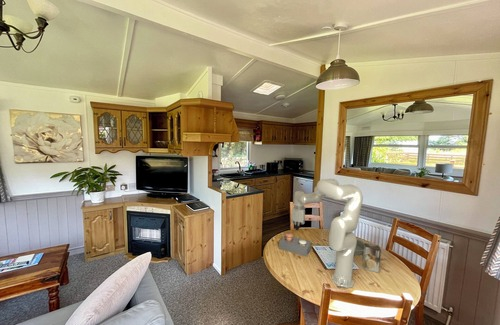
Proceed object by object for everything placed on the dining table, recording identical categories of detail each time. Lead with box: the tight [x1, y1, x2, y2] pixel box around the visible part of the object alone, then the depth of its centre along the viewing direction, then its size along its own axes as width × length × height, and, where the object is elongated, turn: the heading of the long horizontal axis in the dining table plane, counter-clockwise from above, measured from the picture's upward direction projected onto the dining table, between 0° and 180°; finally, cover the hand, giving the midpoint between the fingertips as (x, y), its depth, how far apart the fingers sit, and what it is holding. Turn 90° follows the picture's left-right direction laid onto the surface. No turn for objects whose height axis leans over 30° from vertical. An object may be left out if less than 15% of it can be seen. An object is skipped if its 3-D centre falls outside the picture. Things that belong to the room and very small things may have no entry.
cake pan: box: [354, 239, 364, 256], centre depth 170 cm, size 25×25×4 cm
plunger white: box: [299, 239, 306, 246], centre depth 162 cm, size 6×6×6 cm
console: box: [278, 234, 313, 258], centre depth 165 cm, size 14×22×6 cm, turn 60°
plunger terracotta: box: [285, 232, 294, 242], centre depth 168 cm, size 6×6×6 cm
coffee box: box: [362, 242, 382, 273], centre depth 142 cm, size 9×6×16 cm
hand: (297, 229), depth 164 cm, fingers closed
